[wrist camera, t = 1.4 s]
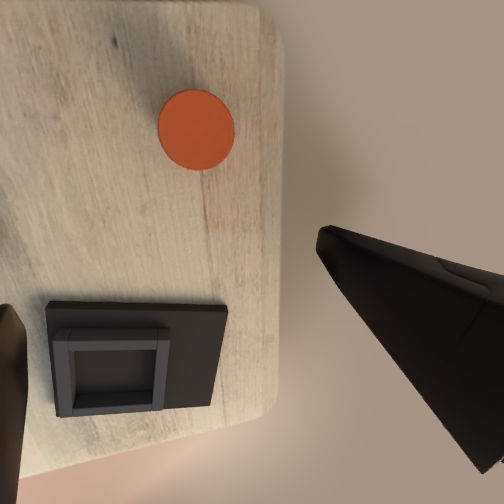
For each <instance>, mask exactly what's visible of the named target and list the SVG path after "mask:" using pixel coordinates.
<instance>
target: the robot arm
mask: <svg viewBox="0 0 504 504" xmlns="http://www.w3.org/2000/svg"><path fill="white" fill-rule="evenodd" d="M316 252H317V254H318V256H319V258H320V259H321V261H322V262H323V264H324V266H325V267H326V269H327V271H328V272H329V274H330V276H331V277H332V279H333V281H334V282H335V284H336V285H337V286H338V288H339V289H340V291H341V292H342V293H343V295H344V296H345V297H346V299H347V300H348V301H349V303H350V304H351V305H352V306H353V308H354V309H355V310H356V312H357V313H358V314H359V316H360V317H361V318H362V320H363V321H364V322H365V323H366V325H367V326H368V327H369V329H370V330H371V331H372V333H373V334H374V335H375V336H376V338H377V339H378V340H379V342H380V343H381V344H382V346H383V347H384V348H385V350H386V351H387V352H388V353H389V355H391V357H392V359H393V360H394V361H395V362H396V364H397V365H398V366H399V368H400V369H401V370H402V372H403V373H404V374H405V375H406V377H407V378H408V379H409V381H410V382H411V383H412V385H413V386H414V387H415V389H416V390H417V391H418V392H419V394H420V395H421V396H422V398H423V399H424V401H425V402H426V403H427V404H428V406H429V407H430V408H431V410H432V411H433V412H434V414H435V415H436V416H437V418H438V419H439V420H440V421H441V423H442V425H443V426H444V427H445V429H447V430H448V432H449V433H450V434H451V435H452V437H453V438H454V440H455V441H456V442H457V443H458V445H459V446H460V448H461V449H462V450H463V451H464V453H465V454H466V455H467V457H468V458H469V459H470V461H471V462H472V463H473V464H474V466H475V467H476V468H477V469H478V470H479V471H480V472H481V474H484V473H486V472H487V471H488V470H489V469H491V468H492V467H493V466H495V465H496V464H497V463H499V462H502V463H504V275H500V274H496V273H492V272H488V271H484V270H481V269H476V268H473V267H469V266H465V265H462V264H459V263H454V262H451V261H448V260H445V259H441V258H438V257H434V256H432V255H428V254H425V253H421V252H418V251H415V250H412V249H408V248H405V247H402V246H399V245H395V244H392V243H388V242H385V241H382V240H378V239H375V238H372V237H369V236H365V235H362V234H359V233H355V232H352V231H349V230H346V229H342V228H339V227H336V226H332V225H329V226H325V227H322V228H320V230H319V232H318V238H317V243H316ZM27 398H28V363H27V335H26V329H25V326H24V324H23V323H22V321H21V320H20V318H19V316H18V315H17V313H16V311H15V310H14V308H13V307H12V306H11V305H10V304H2V305H0V504H16V499H17V489H18V481H19V472H20V462H21V453H22V444H23V435H24V426H25V416H26V407H27Z"/></svg>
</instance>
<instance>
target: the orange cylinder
mask: <svg viewBox="0 0 504 504" xmlns="http://www.w3.org/2000/svg"><path fill="white" fill-rule="evenodd" d="M234 134H235V133H234V123H233V119H232V117H231V114H230V112H229V110H228V108H227V107H226V106H225V104H224V103H223V102H222V101H221V100H220V99H219V98H217V97H216V96H214V95H213V94H211V93H209V92H206V91H203V90H197V89H190V90H185V91H181V92H179V93H177V94H175V95H173V96H172V97H171V98H170V99H169V100H168V101H167V102H166V103H165V105H164V106H163V108H162V110H161V112H160V115H159V119H158V136H159V140H160V143H161V145H162V147H163V149H164V151H165V152H166V154H167V155H168V156H169V157H170V159H171V160H173V161H174V162H175V163H177V164H178V165H180V166H182V167H184V168H187V169H190V170H207V169H210V168H213V167H215V166H216V165H218V164H220V163H221V162H222V161H223V160H224V159H225V158H226V157H227V155H228V154H229V152H230V150H231V148H232V145H233V141H234Z"/></svg>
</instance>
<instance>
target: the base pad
mask: <svg viewBox="0 0 504 504" xmlns="http://www.w3.org/2000/svg"><path fill="white" fill-rule="evenodd" d="M45 312H46V321H47V331H48V341H49V350H50V360H51V370H52V380H53V389H54V399H55V409H56V417H60V418H65V417H78V416H92V415H106V414H119V413H133V412H147V411H151V410H152V411H160V410H163V409H172V408H186V407H200V406H210V403H211V398H212V393H213V387H214V382H215V377H216V372H217V367H218V362H219V357H220V352H221V346H222V341H223V336H224V331H225V326H226V321H227V316H228V309H227V306H226V305H190V304H148V303H105V302H63V301H50V302H49V303H48V305H47V307H46V308H45Z"/></svg>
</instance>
